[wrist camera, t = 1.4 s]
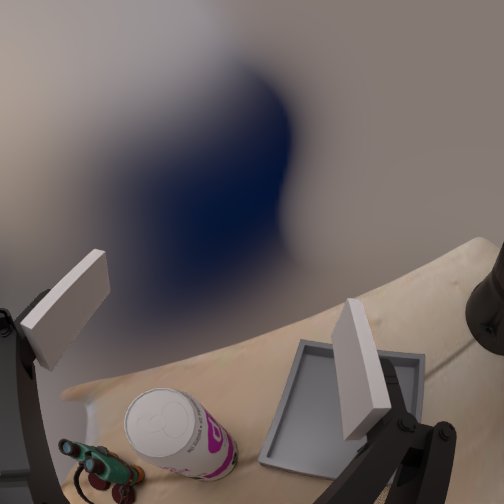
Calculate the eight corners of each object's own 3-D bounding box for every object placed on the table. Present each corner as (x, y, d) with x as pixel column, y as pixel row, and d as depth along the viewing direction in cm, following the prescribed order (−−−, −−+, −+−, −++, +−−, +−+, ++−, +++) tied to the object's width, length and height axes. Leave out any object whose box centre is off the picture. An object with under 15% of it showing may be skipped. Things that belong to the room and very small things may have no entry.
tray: (417, 366, 34) (425, 354, 32) (400, 485, 21) (409, 483, 19) (301, 351, 41) (300, 339, 38) (261, 464, 28) (256, 461, 26)
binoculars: (38, 481, 18) (59, 423, 24) (89, 491, 25) (107, 442, 31) (84, 522, 15) (107, 456, 21) (135, 521, 22) (154, 467, 28)
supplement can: (230, 421, 34) (193, 373, 24) (245, 475, 27) (209, 457, 18) (175, 432, 33) (118, 389, 24) (184, 485, 26) (121, 466, 17)
